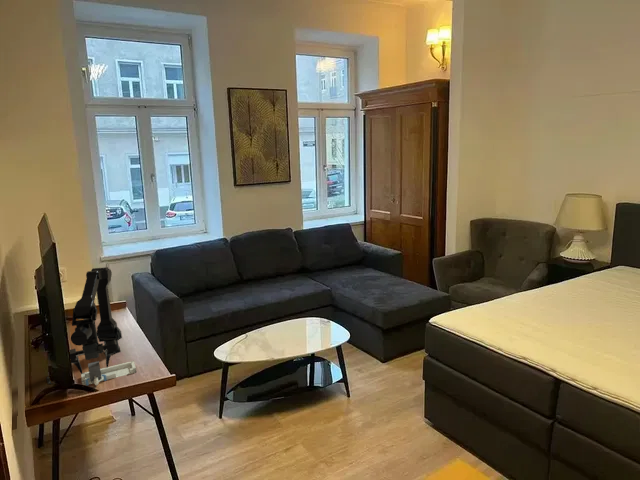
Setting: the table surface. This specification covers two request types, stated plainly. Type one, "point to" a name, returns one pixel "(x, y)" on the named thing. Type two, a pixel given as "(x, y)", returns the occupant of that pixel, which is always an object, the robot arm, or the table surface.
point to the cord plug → (94, 372)
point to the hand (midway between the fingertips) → (94, 370)
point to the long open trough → (111, 372)
